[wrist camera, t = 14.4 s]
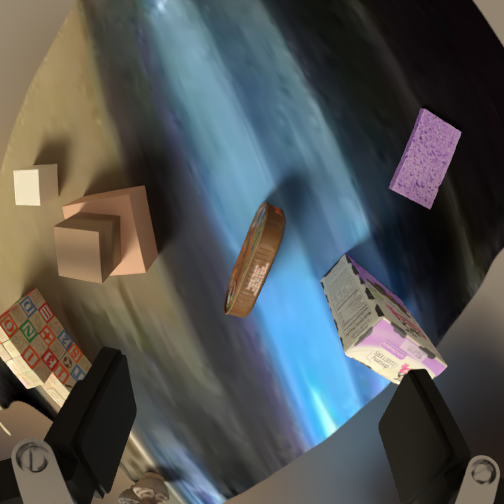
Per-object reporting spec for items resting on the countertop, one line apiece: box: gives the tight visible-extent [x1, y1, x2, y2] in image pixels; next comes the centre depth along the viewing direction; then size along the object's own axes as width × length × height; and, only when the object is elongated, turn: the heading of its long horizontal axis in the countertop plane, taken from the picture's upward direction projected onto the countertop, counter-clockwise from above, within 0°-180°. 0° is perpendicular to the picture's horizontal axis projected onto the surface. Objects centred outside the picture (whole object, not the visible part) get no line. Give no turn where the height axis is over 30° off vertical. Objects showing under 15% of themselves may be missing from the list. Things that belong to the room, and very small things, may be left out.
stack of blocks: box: [0, 288, 92, 407], centre depth 45 cm, size 21×6×12 cm, turn 25°
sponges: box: [389, 108, 461, 209], centre depth 38 cm, size 7×13×2 cm, turn 159°
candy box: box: [320, 254, 447, 386], centre depth 38 cm, size 14×6×16 cm, turn 53°
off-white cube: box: [14, 164, 59, 206], centre depth 38 cm, size 5×5×5 cm
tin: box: [224, 202, 285, 318], centre depth 40 cm, size 15×3×8 cm, turn 159°
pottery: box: [118, 472, 169, 504], centre depth 66 cm, size 11×25×12 cm, turn 148°
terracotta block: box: [62, 185, 158, 276], centre depth 40 cm, size 10×10×6 cm
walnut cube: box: [54, 212, 121, 283], centre depth 34 cm, size 6×6×6 cm
